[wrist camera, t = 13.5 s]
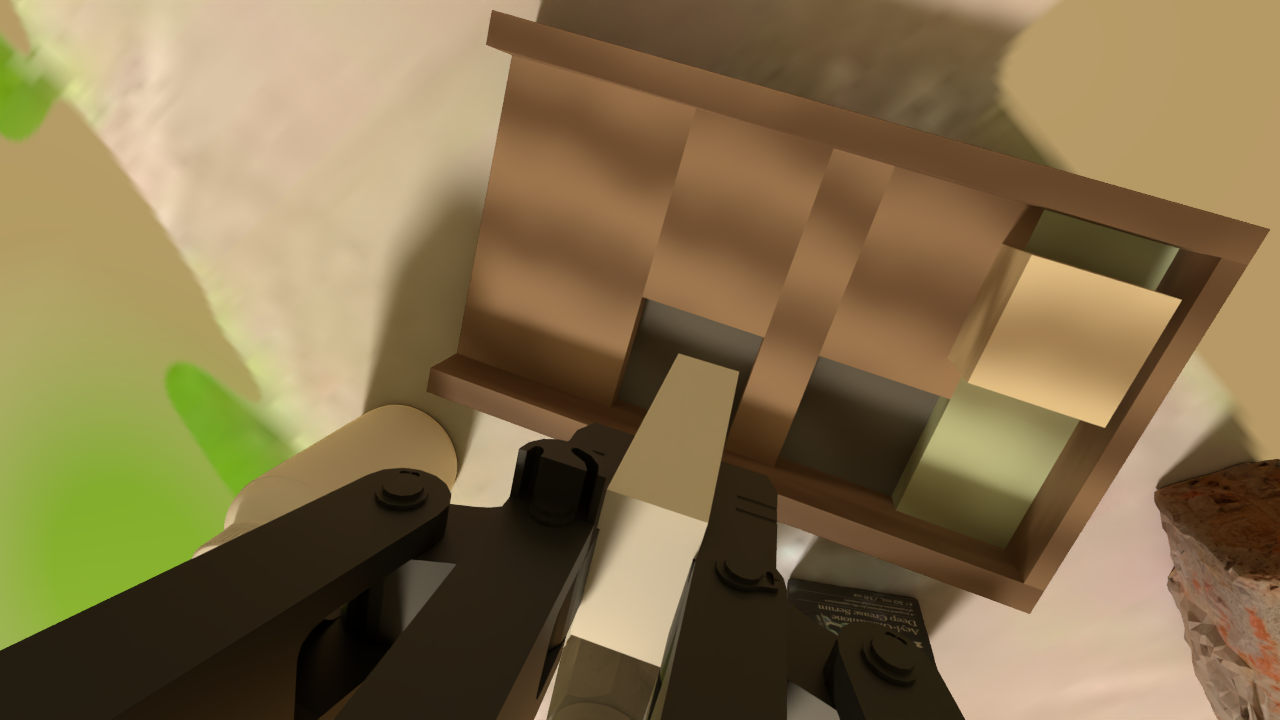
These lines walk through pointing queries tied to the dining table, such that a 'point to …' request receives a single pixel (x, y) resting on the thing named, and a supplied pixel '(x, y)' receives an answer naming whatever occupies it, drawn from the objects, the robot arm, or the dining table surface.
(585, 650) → the coffeepot
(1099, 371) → the block
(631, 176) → the divided wooden tray
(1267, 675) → the food item
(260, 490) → the pill bottle
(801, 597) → the box
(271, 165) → the dining table surface
